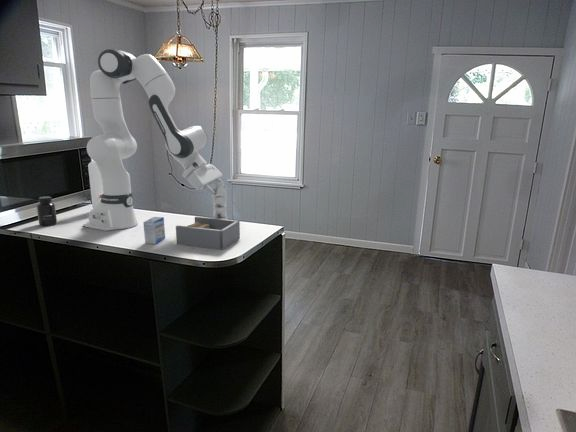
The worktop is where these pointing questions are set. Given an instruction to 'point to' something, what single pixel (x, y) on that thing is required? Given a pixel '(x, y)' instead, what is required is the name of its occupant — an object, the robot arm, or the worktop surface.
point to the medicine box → (154, 230)
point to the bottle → (95, 183)
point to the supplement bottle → (46, 211)
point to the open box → (209, 233)
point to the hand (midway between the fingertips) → (218, 190)
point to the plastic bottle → (220, 201)
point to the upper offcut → (199, 225)
